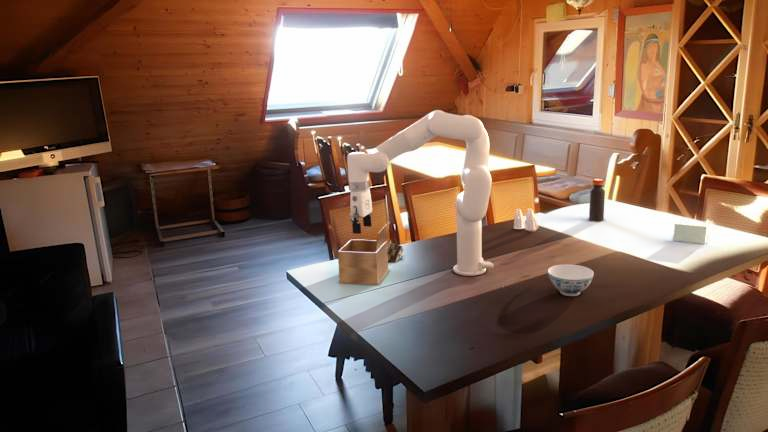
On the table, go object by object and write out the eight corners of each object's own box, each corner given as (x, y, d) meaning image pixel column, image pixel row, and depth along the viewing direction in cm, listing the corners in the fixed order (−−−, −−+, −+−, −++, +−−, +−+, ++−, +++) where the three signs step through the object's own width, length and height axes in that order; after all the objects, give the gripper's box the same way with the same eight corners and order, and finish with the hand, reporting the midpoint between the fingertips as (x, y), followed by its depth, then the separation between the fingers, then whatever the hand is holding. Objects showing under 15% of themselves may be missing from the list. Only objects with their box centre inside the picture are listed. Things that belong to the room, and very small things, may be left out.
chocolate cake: (398, 265, 244) (407, 239, 249) (382, 260, 244) (391, 234, 250) (397, 273, 252) (406, 249, 257) (381, 268, 253) (390, 244, 258)
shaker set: (539, 231, 279) (539, 208, 276) (533, 233, 276) (534, 210, 274) (518, 227, 288) (518, 204, 285) (512, 228, 285) (513, 206, 283)
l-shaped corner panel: (707, 236, 261) (709, 219, 259) (704, 244, 251) (706, 226, 249) (677, 233, 267) (678, 217, 265) (673, 240, 257) (674, 223, 255)
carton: (388, 270, 236) (387, 240, 233) (377, 285, 222) (376, 253, 219) (352, 269, 240) (350, 239, 237) (339, 282, 226) (337, 251, 223)
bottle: (590, 221, 292) (591, 181, 287) (587, 217, 299) (589, 178, 294) (604, 221, 291) (606, 181, 286) (602, 217, 297) (604, 178, 292)
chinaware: (586, 304, 197) (587, 282, 195) (541, 296, 204) (542, 275, 203) (597, 288, 209) (598, 267, 207) (554, 282, 217) (555, 262, 215)
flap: (386, 239, 233) (387, 239, 233) (375, 251, 219) (376, 251, 219) (389, 221, 231) (389, 221, 231) (378, 232, 217) (378, 232, 216)
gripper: (358, 190, 212) (362, 236, 217) (377, 181, 228) (380, 224, 232) (340, 190, 215) (343, 235, 220) (359, 180, 231) (362, 223, 235)
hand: (362, 229), depth 226 cm, fingers open, 9 cm apart
